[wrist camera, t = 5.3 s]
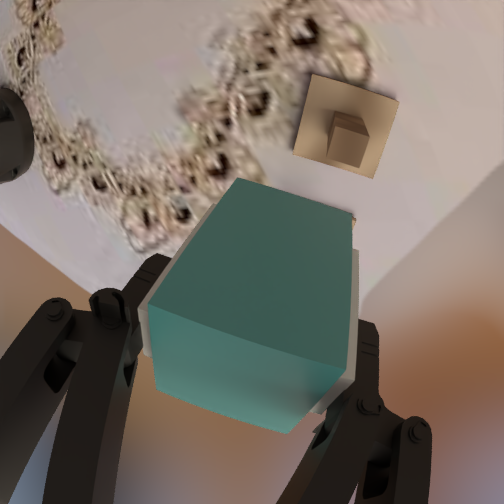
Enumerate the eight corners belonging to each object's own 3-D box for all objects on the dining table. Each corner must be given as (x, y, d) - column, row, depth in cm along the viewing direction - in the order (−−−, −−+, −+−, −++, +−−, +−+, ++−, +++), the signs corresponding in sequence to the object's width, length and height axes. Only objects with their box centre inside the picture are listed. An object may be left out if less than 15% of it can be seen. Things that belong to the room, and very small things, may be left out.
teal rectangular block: (221, 264, 17) (156, 389, 11) (237, 177, 14) (147, 303, 8) (314, 295, 17) (287, 434, 11) (352, 214, 13) (346, 369, 7)
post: (293, 152, 29) (283, 179, 24) (312, 73, 24) (307, 80, 19) (372, 176, 29) (379, 208, 24) (398, 101, 24) (415, 116, 19)
